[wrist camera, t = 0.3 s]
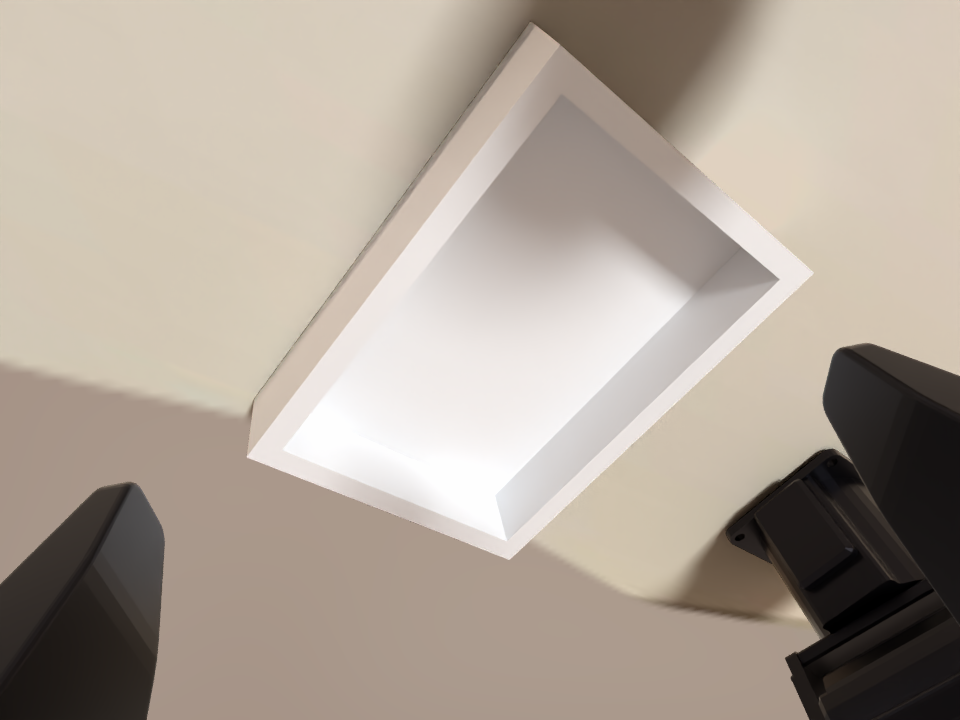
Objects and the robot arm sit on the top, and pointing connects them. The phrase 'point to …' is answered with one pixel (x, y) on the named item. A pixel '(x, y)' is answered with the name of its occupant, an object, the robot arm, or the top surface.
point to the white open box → (520, 312)
